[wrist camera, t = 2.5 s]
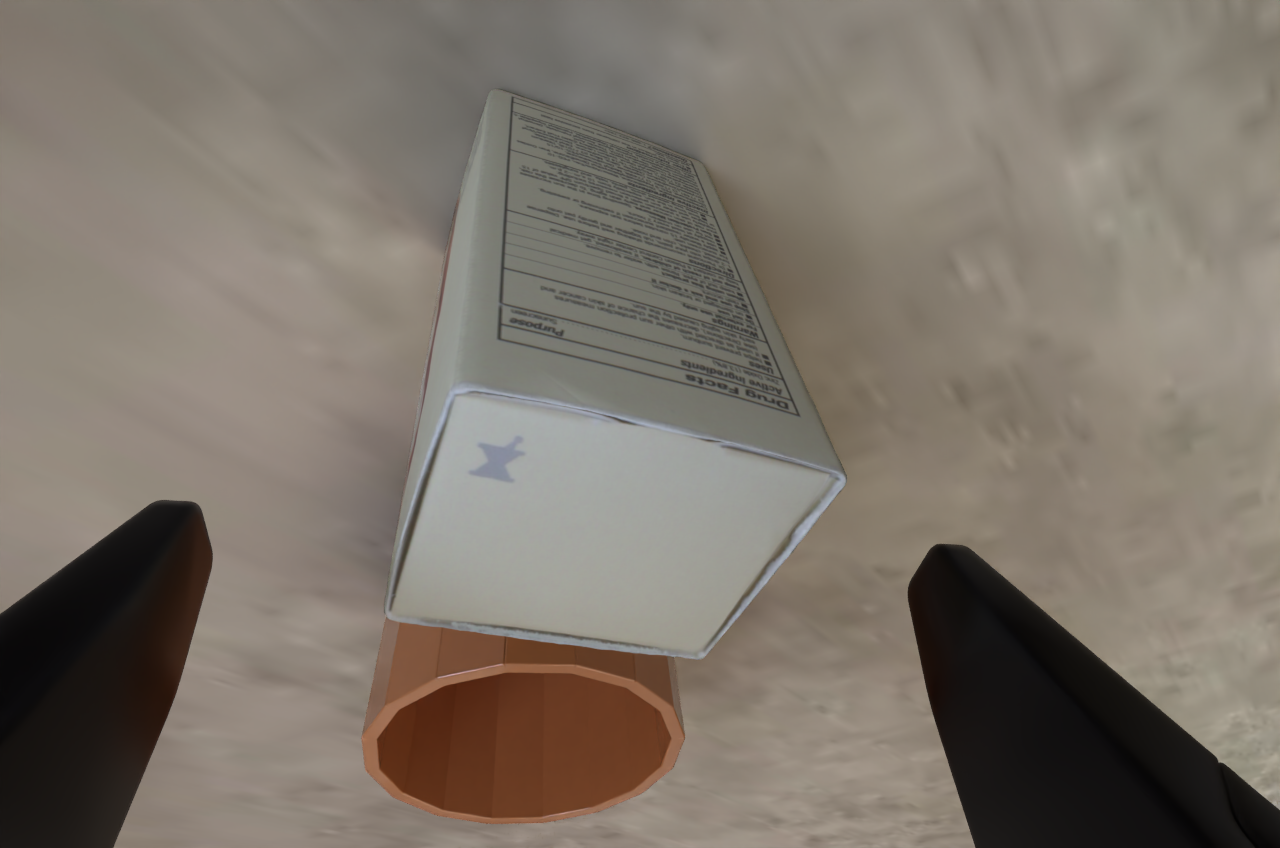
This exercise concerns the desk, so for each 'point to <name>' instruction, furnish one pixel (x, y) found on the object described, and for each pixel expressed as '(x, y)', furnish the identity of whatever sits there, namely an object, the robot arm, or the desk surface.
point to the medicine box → (600, 403)
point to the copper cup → (516, 724)
